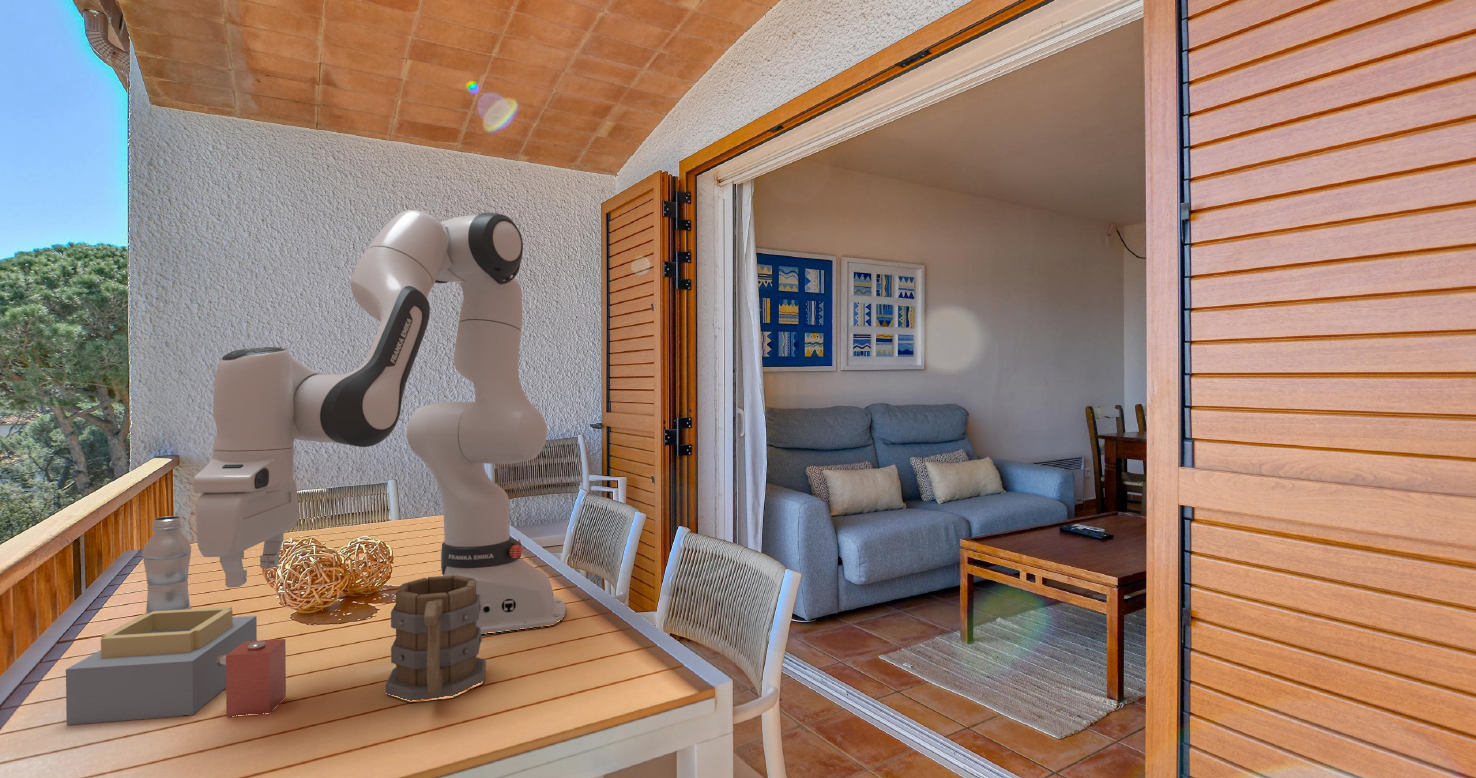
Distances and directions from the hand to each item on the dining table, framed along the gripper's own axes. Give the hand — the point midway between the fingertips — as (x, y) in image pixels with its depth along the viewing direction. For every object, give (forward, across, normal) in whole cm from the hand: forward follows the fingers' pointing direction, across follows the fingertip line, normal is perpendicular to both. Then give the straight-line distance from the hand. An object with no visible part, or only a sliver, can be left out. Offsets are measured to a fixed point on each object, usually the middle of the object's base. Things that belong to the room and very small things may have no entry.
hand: (253, 576), depth 95 cm
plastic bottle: (+17, -32, -26) cm, 44 cm away
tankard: (+17, 0, +22) cm, 28 cm away
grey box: (+17, -8, -14) cm, 24 cm away
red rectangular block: (+17, 0, 0) cm, 17 cm away
